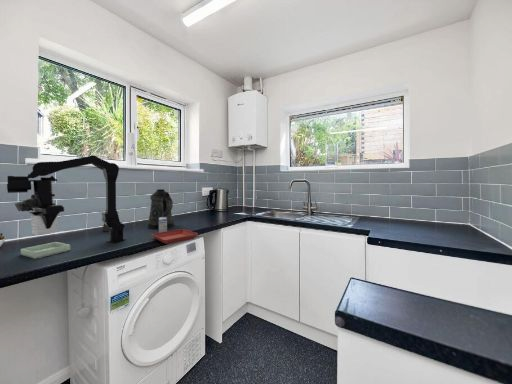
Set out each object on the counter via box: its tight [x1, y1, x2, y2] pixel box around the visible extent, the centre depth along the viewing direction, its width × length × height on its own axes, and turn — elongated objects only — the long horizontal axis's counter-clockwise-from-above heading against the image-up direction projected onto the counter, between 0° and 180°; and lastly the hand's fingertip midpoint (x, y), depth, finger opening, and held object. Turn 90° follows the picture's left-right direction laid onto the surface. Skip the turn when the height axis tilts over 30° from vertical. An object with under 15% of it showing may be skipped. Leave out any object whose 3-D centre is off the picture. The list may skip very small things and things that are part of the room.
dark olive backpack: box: [146, 188, 175, 230], centre depth 151 cm, size 16×19×25 cm
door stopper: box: [101, 211, 121, 232], centre depth 142 cm, size 9×6×12 cm, turn 165°
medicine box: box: [158, 217, 168, 233], centre depth 134 cm, size 8×4×9 cm, turn 23°
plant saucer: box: [151, 228, 199, 245], centre depth 119 cm, size 18×18×3 cm
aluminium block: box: [30, 214, 59, 236], centre depth 97 cm, size 4×7×8 cm, turn 155°
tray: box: [20, 241, 71, 260], centre depth 97 cm, size 12×12×2 cm
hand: (45, 228), depth 97 cm, fingers closed on aluminium block, 4 cm apart
